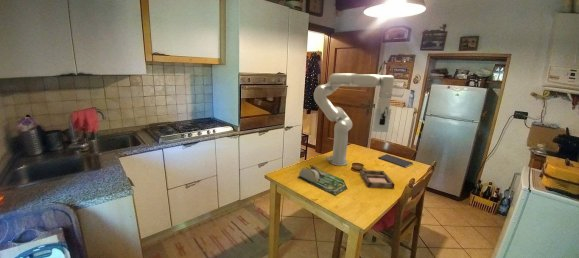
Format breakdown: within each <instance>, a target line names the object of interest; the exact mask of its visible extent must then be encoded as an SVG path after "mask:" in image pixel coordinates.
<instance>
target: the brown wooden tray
mask: <svg viewBox="0 0 579 258" xmlns="http://www.w3.org/2000/svg"><path fill="white" fill-rule="evenodd" d="M359 175H360V177H361V178H362V181H364V183H365V184H366V186H367V188H378V189H395V186H396V185H395V183H394V182H393V180H392V179H391V178H390V177H389V176H388V174H386V172H385V171H384V170H375V169H374V170H373V169H372V170H371V169H360V170H359ZM368 178H383V179H385V180H386V181H387V183H383V182H370V181H369V179H368Z"/></svg>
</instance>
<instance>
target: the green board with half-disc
mask: <svg viewBox="0 0 579 258" xmlns="http://www.w3.org/2000/svg"><path fill="white" fill-rule="evenodd" d="M309 167H310V168H309ZM309 167H304V168H302V169H300V171H299V174H298V176H296V177H297V179H299V180H302V181H303V182H306V183H308V184H310V185H311V186H314V187H316V188H317V189H319V190H322V191H324V192H326V193H328V194H330V195H332V196H334V197H336V196H338V195H339V194H341V193H343V192H345V191H346V190H348V187H347V185H346V182H345V180H344V179H343V178H341V177H338V176H336V175H334V174H331V173H328V172H327V171H325V170H322V169H319V167H317V166H314V165H311V164H309Z"/></svg>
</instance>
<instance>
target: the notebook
mask: <svg viewBox="0 0 579 258" xmlns="http://www.w3.org/2000/svg"><path fill="white" fill-rule="evenodd" d="M377 159H378V160H382V161H383V162H384V161H385V162H386V163H387V162H388V163H390V164H393V165H396V166H399V167H401V168H405V169H406V168H407V167H409V166H412V165H413V164H414V162H412V161H409V160H406V159H403V158H400V157H397V156H393V155H390V154H388V153H387V154H383V155H381V156H378V158H377Z"/></svg>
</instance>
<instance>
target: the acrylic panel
mask: <svg viewBox="0 0 579 258" xmlns="http://www.w3.org/2000/svg"><path fill="white" fill-rule="evenodd" d="M379 109H380V108H377V107H374V113H373V121H372V122H373V123H372V127H371V128H372V129H371V130H372V131H373V132H379V133H380V132H381V133H388V132H389V124H390V120H391V113H392V112H391V111H392V108H389V113H388V114H387V116H386V119H385V125H379V123H380V119H381V114H380V113H379ZM383 114H384V113H383Z"/></svg>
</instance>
